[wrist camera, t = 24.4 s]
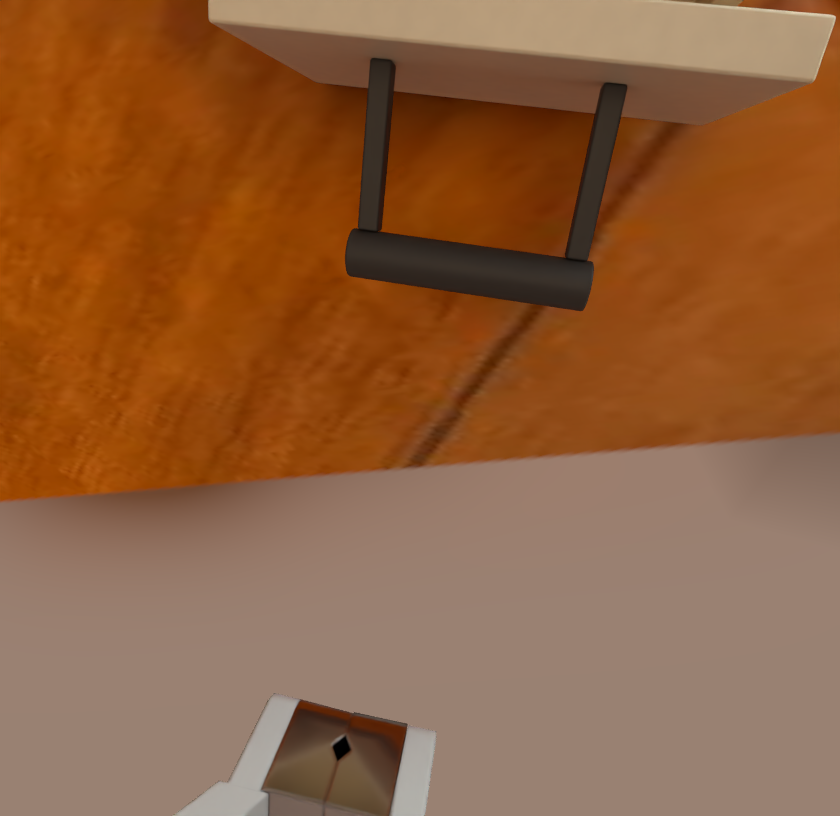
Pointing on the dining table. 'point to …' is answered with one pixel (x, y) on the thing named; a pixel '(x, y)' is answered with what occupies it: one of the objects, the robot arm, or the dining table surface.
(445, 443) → the dining table surface
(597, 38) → the drawer
